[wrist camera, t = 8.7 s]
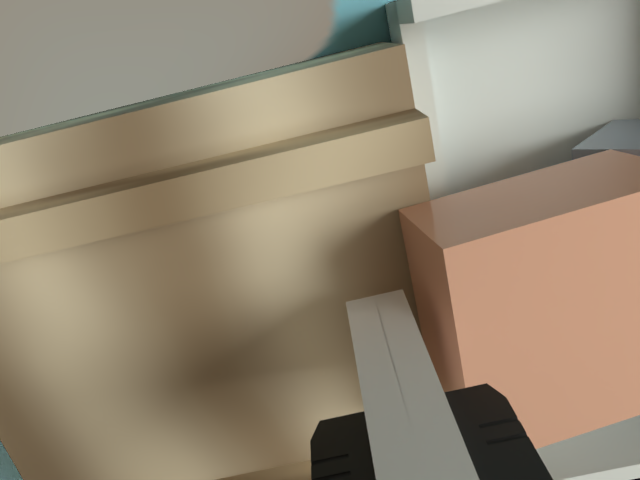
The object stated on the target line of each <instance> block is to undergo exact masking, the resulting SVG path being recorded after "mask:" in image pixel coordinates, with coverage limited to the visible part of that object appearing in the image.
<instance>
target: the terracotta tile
mask: <svg viewBox="0 0 640 480" xmlns="http://www.w3.org/2000/svg"><path fill="white" fill-rule="evenodd" d="M398 212H399V217H400V222H401V228H402V233H403V238H404V243H405V249H406V254H407V259H408V264H409V270H410V275H411V280H412V285H413V291H414V296H415V301H416V306H417V312H418V317H419V322H420V327H421V333H422V338H423V341H424V344H425V346H426V348H427V351H428V353H429V356H430V358H431V361H432V363H433V366H434V368H435V371H436V373H437V376H438V378H439V381H440V383H441V386H442V388H443V391H444V392H448V391H453V390H458V389H462V388H467V387H472V386H476V385H481V384H486V383H487V384H489V385H490V386H491V387H493V388H494V389H496V390H497V391H498V392H500V393H501V394H502V395H504V396H505V397H506V398H507V399H508V401H509V403H510V405H511V406H512V408H513V410H514V412H515V414H516V415H517V418H518V420H519V421H520V422H521V424H522V426H523V428H524V429H525V431H526V434H527V436H528V437H529V438H530V440H531V442H532V443H533V445H534V447H535V449H538V448H541V447H544V446H547V445H550V444H553V443H556V442H559V441H562V440H566V439H569V438H572V437H575V436H578V435H581V434H584V433H587V432H590V431H593V430H596V429H599V428H602V427H605V426H608V425H611V424H614V423H617V422H620V421H623V420H626V419H629V418H632V417H635V416H638V415H640V156H636V155H632V154H628V153H624V152H620V151H616V150H612V149H609V150H606V151H602V152H599V153H595V154H592V155H588V156H585V157H581V158H578V159H574V160H571V161H567V162H564V163H560V164H557V165H553V166H550V167H546V168H543V169H539V170H536V171H532V172H529V173H525V174H522V175H518V176H515V177H511V178H508V179H504V180H501V181H497V182H494V183H490V184H487V185H483V186H480V187H476V188H473V189H469V190H466V191H462V192H458V193H455V194H451V195H448V196H444V197H441V198H437V199H434V200H430V201H427V202H423V203H420V204H416V205H413V206H409V207H406V208H402V209H399V210H398Z"/></svg>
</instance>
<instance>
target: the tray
mask: <svg viewBox="0 0 640 480" xmlns="http://www.w3.org/2000/svg"><path fill="white" fill-rule="evenodd" d="M385 8H386V14H387V20H388V25H389V31H390V37H391V43H398V44H405V49H406V55H407V61H408V67H409V73H410V79H411V85H412V91H413V97H414V103H415V108H416V109H417V110H419V111H420V112H422V113H423V114H425V115H426V116H428V117H429V121H430V128H431V134H432V140H433V147H434V153H435V160H436V161H435V162H431V163H427V164H425V170H426V176H427V182H428V188H429V194H430V200H434V199H437V198H441V197H444V196H448V195H451V194H455V193H458V192H462V191H466V190H469V189H473V188H476V187H480V186H483V185H487V184H490V183H494V182H497V181H501V180H504V179H508V178H511V177H515V176H518V175H522V174H525V173H529V172H532V171H536V170H539V169H543V168H546V167H550V166H553V165H557V164H560V163H564V162H567V161H571V160H572V153H571V149H573V148H574V147H575V146H577V145H578V144H580V143H581V142H583V141H584V140H585V139H587V138H588V137H590V136H591V135H593V134H594V133H595V132H597V131H598V130H600V129H601V128H603V127H604V126H605V125H607V124H608V123H610V122H611V121H613V120H623V119H640V0H395V1H393V2H390V3H387V4H385ZM536 450H537V452H538V454H539V456H540V457H541V459H542V461H543V463H544V464H545V466H546V468H547V470H548V472H549V473H550V475H551V477H552V479H553V480H631V479H636V478H640V415H638V416H635V417H632V418H629V419H626V420H623V421H620V422H617V423H614V424H611V425H608V426H605V427H602V428H599V429H596V430H593V431H590V432H587V433H584V434H581V435H578V436H575V437H572V438H569V439H566V440H562V441H559V442H556V443H553V444H550V445H547V446H544V447H541V448H538V449H536Z"/></svg>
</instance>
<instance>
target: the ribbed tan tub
mask: <svg viewBox="0 0 640 480" xmlns="http://www.w3.org/2000/svg"><path fill="white" fill-rule="evenodd" d="M435 161H436V160H435V153H434V147H433V140H432V134H431V128H430V121H429V117H428V116H426V115H425V114H423V113H422V112H420V111H419V110H417V109H416V108H415V103H414V97H413V91H412V85H411V79H410V73H409V67H408V61H407V55H406V49H405V44H398V43H388V42H379V43H375V44H371V45H367V46H363V47H359V48H355V49H351V50H347V51H343V52H339V53H335V54H331V55H327V56H323V57H319V58H315V59H311V60H307V61H303V62H299V63H295V64H291V65H287V66H283V67H279V68H275V69H271V70H267V71H263V72H259V73H255V74H251V75H247V76H243V77H239V78H235V79H231V80H227V81H223V82H219V83H215V84H211V85H207V86H203V87H199V88H195V89H191V90H187V91H183V92H179V93H175V94H171V95H167V96H163V97H159V98H155V99H151V100H147V101H143V102H139V103H135V104H131V105H127V106H123V107H119V108H115V109H111V110H107V111H103V112H99V113H95V114H91V115H87V116H83V117H79V118H75V119H71V120H67V121H63V122H59V123H55V124H51V125H47V126H43V127H39V128H35V129H31V130H27V131H23V132H19V133H15V134H11V135H7V136H3V137H0V440H1V442H2V444H3V446H4V447H5V449H6V451H7V452H8V454H9V456H10V458H11V459H12V461H13V463H14V465H15V466H16V468H17V470H18V471H19V473H20V475H21V477H22V478H23V480H311V449H310V440H311V438H312V436H313V434H314V432H315V429H316V427H317V425H318V423H319V421H321V420H325V419H330V418H335V417H339V416H344V415H349V414H353V413H358V412H363V411H364V406H363V401H362V395H361V389H360V383H359V377H358V371H357V365H356V360H355V354H354V348H353V342H352V336H351V330H350V324H349V318H348V313H347V307H346V302H348V301H352V300H356V299H361V298H365V297H370V296H374V295H379V294H383V293H387V292H392V291H396V290H401V289H403V291H404V294H405V296H406V299H407V301H408V304H409V306H410V309H411V311H412V314H413V316H414V319H415V321H416V324H417V326H418V329H419V331H420V334H421V336H422V333H421V327H420V322H419V317H418V312H417V306H416V301H415V296H414V291H413V285H412V280H411V275H410V270H409V264H408V259H407V254H406V249H405V243H404V238H403V233H402V228H401V222H400V217H399V212H398V210H399V209H402V208H406V207H409V206H413V205H416V204H420V203H423V202H427V201H430V194H429V188H428V182H427V176H426V170H425V164H427V163H431V162H435ZM422 339H423V338H422Z"/></svg>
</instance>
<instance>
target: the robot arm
mask: <svg viewBox="0 0 640 480" xmlns="http://www.w3.org/2000/svg"><path fill="white" fill-rule="evenodd" d="M346 307H347V313H348V318H349V324H350V330H351V336H352V342H353V348H354V354H355V360H356V365H357V371H358V377H359V383H360V389H361V395H362V401H363V406H364V411H363V412H358V413H353V414H349V415H344V416H339V417H335V418H330V419H325V420H321V421H319V423H318V425H317V427H316V429H315V432H314V434H313V436H312V438H311V440H310V449H311V480H553V479H552V477H551V475H550V473H549V472H548V470H547V468H546V466H545V464H544V463H543V461H542V459H541V457H540V456H539V454H538V452H537V450H536V449H535V447H534V445H533V443H532V442H531V440H530V438H529V437H528V436H527V434H526V431H525V429H524V428H523V426H522V424H521V422H520V421H519V420H518V418H517V415H516V414H515V412H514V410H513V408H512V406H511V405H510V403H509V401H508V399H507V398H506V397H505V396H504V395H502V394H501V393H500V392H498V391H497V390H496V389H494V388H493V387H491V386H490V385H489V384H487V383H486V384H481V385H476V386H472V387H467V388H462V389H458V390H453V391H448V392H444V391H443V388H442V386H441V383H440V381H439V378H438V376H437V373H436V371H435V368H434V366H433V363H432V361H431V358H430V356H429V353H428V351H427V348H426V346H425V344H424V341H423V339H422V336H421V334H420V331H419V329H418V326H417V324H416V321H415V319H414V316H413V314H412V311H411V309H410V306H409V304H408V301H407V299H406V296H405V294H404V291H403V289H401V290H396V291H392V292H387V293H383V294H379V295H374V296H370V297H365V298H361V299H356V300H352V301H348V302H346Z"/></svg>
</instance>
